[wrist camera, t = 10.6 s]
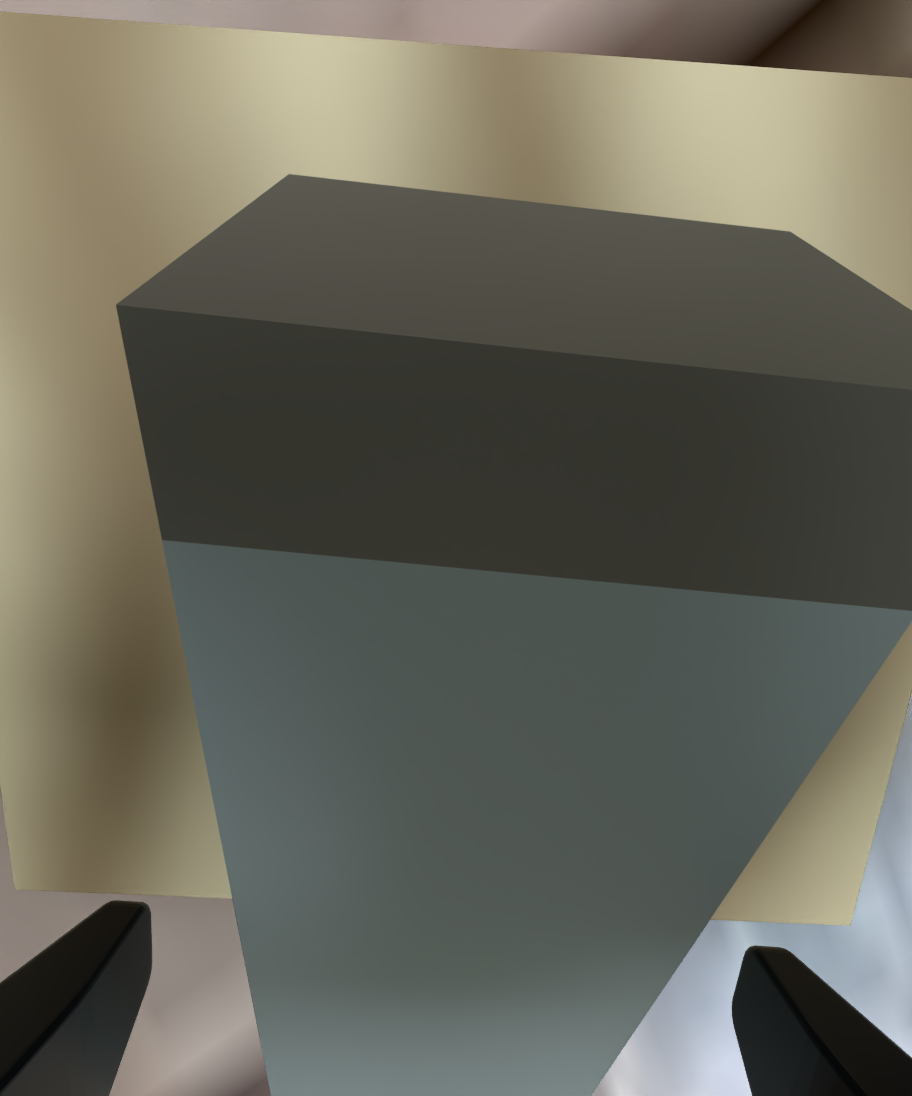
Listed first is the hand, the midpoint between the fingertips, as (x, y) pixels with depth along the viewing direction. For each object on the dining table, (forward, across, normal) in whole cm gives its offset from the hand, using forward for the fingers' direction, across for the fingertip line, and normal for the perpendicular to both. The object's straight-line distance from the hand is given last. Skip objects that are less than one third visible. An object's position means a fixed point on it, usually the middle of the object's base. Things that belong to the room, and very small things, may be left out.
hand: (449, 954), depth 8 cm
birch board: (+7, 0, -3) cm, 8 cm away
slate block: (+4, 0, +5) cm, 6 cm away
